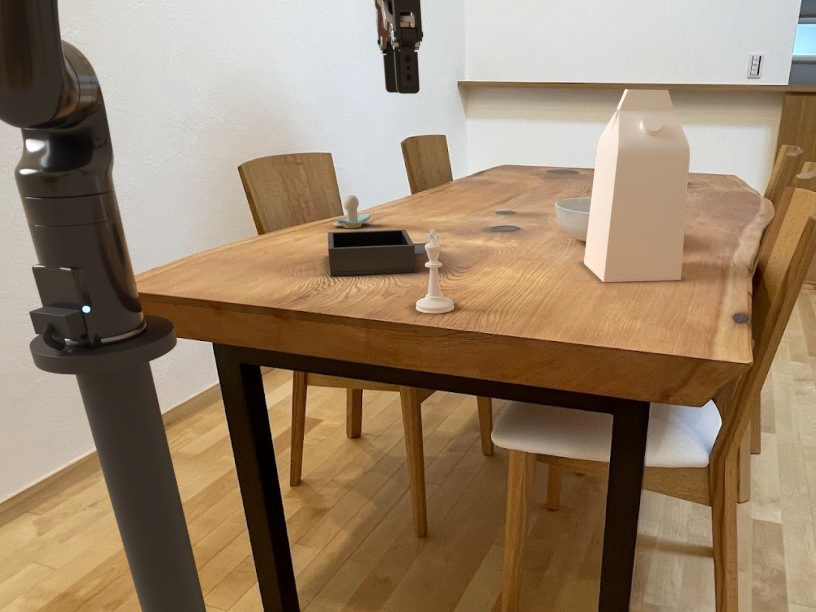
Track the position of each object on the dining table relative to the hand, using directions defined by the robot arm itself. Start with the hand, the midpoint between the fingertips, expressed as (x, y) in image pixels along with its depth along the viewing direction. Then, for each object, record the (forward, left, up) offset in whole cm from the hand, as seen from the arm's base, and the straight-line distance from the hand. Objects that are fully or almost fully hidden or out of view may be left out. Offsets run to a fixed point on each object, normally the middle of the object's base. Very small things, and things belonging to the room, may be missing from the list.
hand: (402, 93), depth 69 cm
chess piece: (+7, 0, -26) cm, 26 cm away
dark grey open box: (+25, +18, -25) cm, 40 cm away
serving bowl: (+54, -16, -26) cm, 61 cm away
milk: (+34, -22, -26) cm, 48 cm away
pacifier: (+52, +36, -26) cm, 68 cm away
